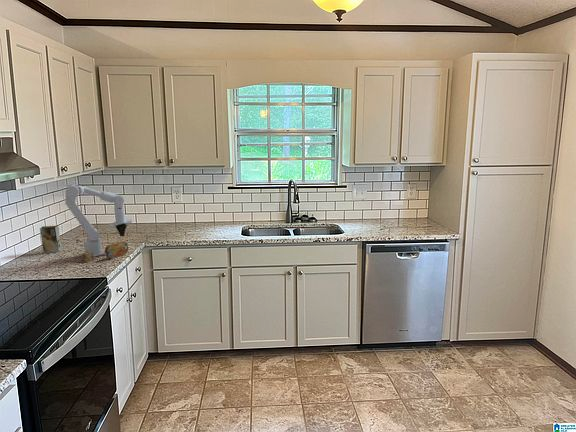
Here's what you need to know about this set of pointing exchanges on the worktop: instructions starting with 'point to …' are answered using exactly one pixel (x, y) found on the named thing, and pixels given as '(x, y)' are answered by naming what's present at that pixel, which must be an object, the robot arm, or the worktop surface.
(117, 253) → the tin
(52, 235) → the coffee box
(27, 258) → the worktop surface
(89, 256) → the letter block
